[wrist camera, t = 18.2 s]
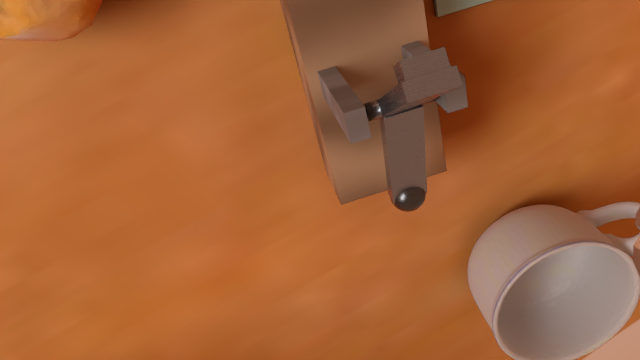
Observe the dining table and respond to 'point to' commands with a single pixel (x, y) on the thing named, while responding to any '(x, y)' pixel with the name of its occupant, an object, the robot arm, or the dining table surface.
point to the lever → (410, 122)
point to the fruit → (45, 18)
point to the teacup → (555, 280)
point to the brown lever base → (360, 83)
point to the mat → (454, 5)
